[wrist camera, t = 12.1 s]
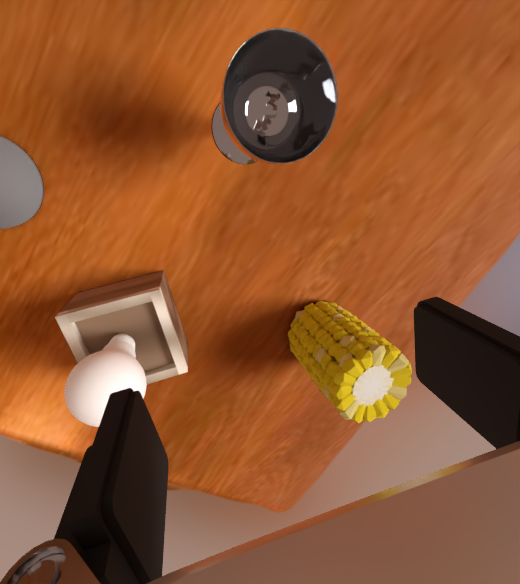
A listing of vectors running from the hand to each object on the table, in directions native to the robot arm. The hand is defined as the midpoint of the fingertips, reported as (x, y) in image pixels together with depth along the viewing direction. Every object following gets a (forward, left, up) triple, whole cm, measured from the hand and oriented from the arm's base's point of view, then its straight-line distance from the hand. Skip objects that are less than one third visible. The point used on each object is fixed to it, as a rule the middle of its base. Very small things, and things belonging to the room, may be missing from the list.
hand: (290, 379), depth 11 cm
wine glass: (-10, +6, -31) cm, 33 cm away
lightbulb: (+8, -12, -24) cm, 29 cm away
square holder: (+8, -12, -30) cm, 34 cm away
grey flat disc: (-10, -20, -30) cm, 38 cm away
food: (+17, +11, -31) cm, 37 cm away
